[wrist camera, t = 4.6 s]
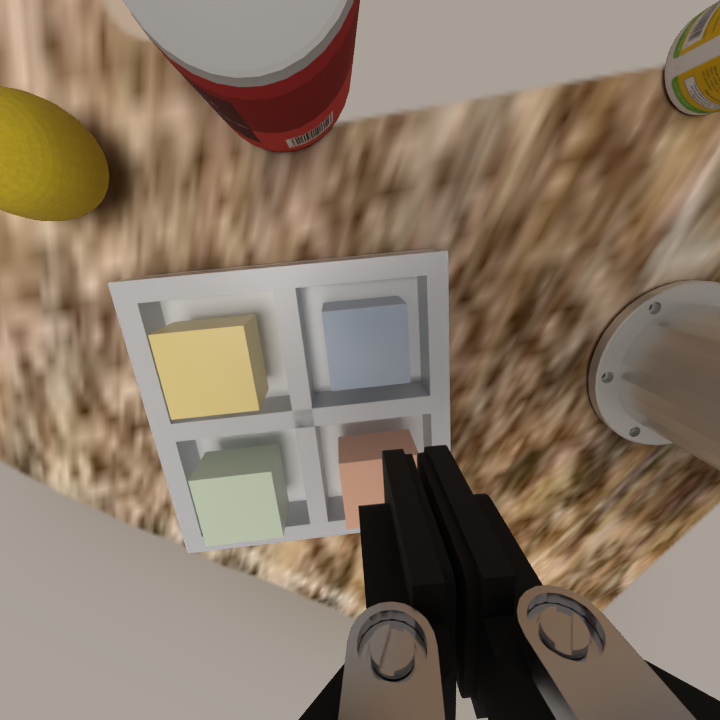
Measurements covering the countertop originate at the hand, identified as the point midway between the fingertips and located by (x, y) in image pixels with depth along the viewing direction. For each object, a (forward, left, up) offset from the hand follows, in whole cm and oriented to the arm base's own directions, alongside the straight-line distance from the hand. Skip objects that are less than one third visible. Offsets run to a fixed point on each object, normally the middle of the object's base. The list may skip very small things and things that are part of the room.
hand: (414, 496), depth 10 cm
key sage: (+9, +8, -13) cm, 17 cm away
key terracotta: (0, +8, -13) cm, 15 cm away
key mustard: (+9, -1, -13) cm, 16 cm away
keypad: (+4, +3, -17) cm, 18 cm away
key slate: (0, -1, -15) cm, 15 cm away
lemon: (+15, -12, -17) cm, 26 cm away
